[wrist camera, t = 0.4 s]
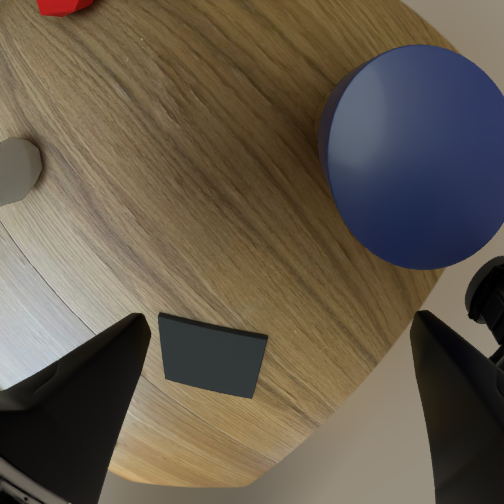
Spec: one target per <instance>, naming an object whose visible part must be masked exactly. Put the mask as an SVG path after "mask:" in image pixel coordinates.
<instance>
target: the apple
mask: <svg viewBox="0 0 504 504" xmlns="http://www.w3.org/2000/svg"><path fill="white" fill-rule="evenodd" d="M93 1H94V0H37V4H38V7H39V10H40V13H41V15H47V16H58V17H63V16H65V15H68V14H70V13H72V12H75V11H77V10H80V9H82V8H85V7H87V6H90V5H91V4H92V3H93Z"/></svg>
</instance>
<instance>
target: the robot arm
mask: <svg viewBox="0 0 504 504" xmlns="http://www.w3.org/2000/svg"><path fill="white" fill-rule="evenodd" d="M468 317H469V319H472V320H481V321H484V322H485V323H486V325H487V326H488V328H489V330H490V331H491V332H492V334H493V336H494V338H495V339H496V341H497V343H498V344H499V345H500V347H499V349H498V350H497V351H496V352H495V353H494V354H493V355H492V356H490V358H487V357H485V356H484V355H483V354H482V353H481V352H480V351H478V350H477V349H476V348H475V347H474V346H472V345H471V344H470V343H469V342H468V341H466V340H465V339H464V338H463V337H461V336H460V335H459V334H458V333H456V332H455V331H454V330H453V329H451V328H450V327H449V326H448V325H446V324H445V323H444V322H443V321H441V320H440V319H438V318H437V317H436V316H435V315H434V314H432V313H431V312H430V311H428V310H422V311H417V312H416V313H415V315H414V319H413V322H412V326H411V329H410V340H411V346H412V353H413V360H414V367H415V373H416V379H417V384H418V388H419V393H420V397H421V402H422V406H423V411H424V417H425V422H426V426H427V433H428V438H429V445H430V452H431V459H432V467H433V476H434V485H435V500H436V504H504V267H501V266H497V265H495V266H494V267H493V268H492V270H491V272H490V274H489V276H488V278H487V280H486V282H485V284H484V286H483V287H482V289H481V291H480V293H479V295H478V297H477V299H476V300H475V302H474V304H473V306H472V307H471V309H470V311H469V313H468ZM150 339H151V330H150V328H149V325H148V323H147V320H146V318H145V316H144V315H143V314H142V313H131V314H130V315H128V316H126V317H125V318H123V319H122V320H120V321H118V322H117V323H115V324H114V325H112V326H110V327H109V328H107V329H106V330H104V331H103V332H101V333H99V334H98V335H96V336H95V337H93V338H91V339H90V340H88V341H87V342H85V343H84V344H82V345H80V346H79V347H77V348H76V349H74V350H73V351H71V352H69V353H68V354H66V355H65V356H63V357H62V358H60V359H59V360H57V361H55V362H54V363H52V364H51V365H49V366H47V367H46V368H44V369H42V370H41V371H39V372H37V373H36V374H34V375H32V376H30V377H28V378H27V379H25V380H23V381H21V382H19V383H17V384H15V385H14V386H12V387H10V388H8V389H6V390H2V391H0V504H69V503H71V504H98V500H99V497H100V494H101V490H102V487H103V483H104V480H105V477H106V473H107V470H108V467H109V463H110V460H111V457H112V454H113V451H114V448H115V445H116V442H117V439H118V436H119V433H120V430H121V427H122V424H123V421H124V418H125V416H126V413H127V410H128V407H129V404H130V402H131V399H132V396H133V393H134V391H135V388H136V385H137V383H138V380H139V377H140V374H141V371H142V368H143V364H144V361H145V357H146V353H147V350H148V346H149V342H150Z"/></svg>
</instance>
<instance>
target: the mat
mask: <svg viewBox="0 0 504 504" xmlns="http://www.w3.org/2000/svg"><path fill="white" fill-rule="evenodd" d="M158 324H159V333H160V342H161V350H162V358H163V366H164V373H165V379H167V380H171V381H174V382H178V383H182V384H185V385H189V386H193V387H197V388H202V389H206V390H210V391H215V392H219V393H224V394H229V395H234V396H239V397H244V398H250V399H252V397H253V393H254V390H255V386H256V382H257V378H258V375H259V371H260V367H261V363H262V359H263V355H264V351H265V347H266V343H267V339H268V336H266V335H260V334H255V333H249V332H244V331H239V330H234V329H229V328H224V327H219V326H215V325H210V324H206V323H201V322H197V321H192V320H188V319H184V318H179V317H175V316H171V315H167V314H163V313H160V314H159V315H158Z"/></svg>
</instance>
